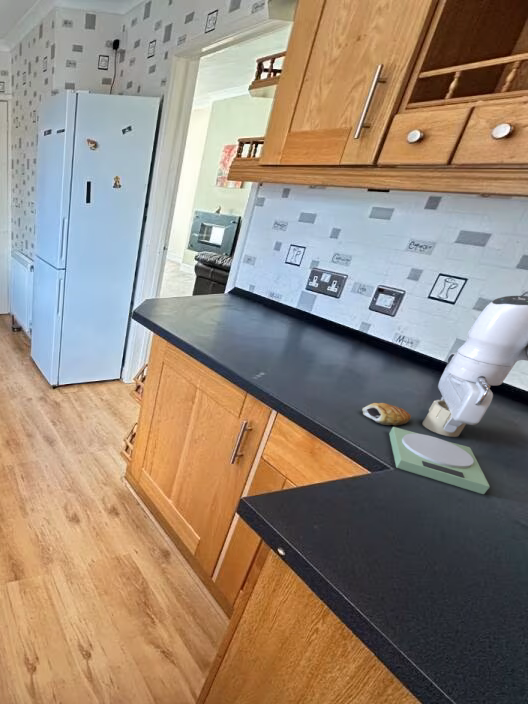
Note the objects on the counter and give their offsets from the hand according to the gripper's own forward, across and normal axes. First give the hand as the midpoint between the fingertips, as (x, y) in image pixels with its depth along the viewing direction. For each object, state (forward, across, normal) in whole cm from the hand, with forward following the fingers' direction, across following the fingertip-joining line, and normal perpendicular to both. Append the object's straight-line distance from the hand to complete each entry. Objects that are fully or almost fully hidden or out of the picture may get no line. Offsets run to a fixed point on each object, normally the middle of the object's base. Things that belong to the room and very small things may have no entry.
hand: (444, 422), depth 97 cm
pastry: (+2, -3, +11) cm, 11 cm away
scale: (+2, -18, +4) cm, 19 cm away
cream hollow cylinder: (+2, 0, 0) cm, 2 cm away
